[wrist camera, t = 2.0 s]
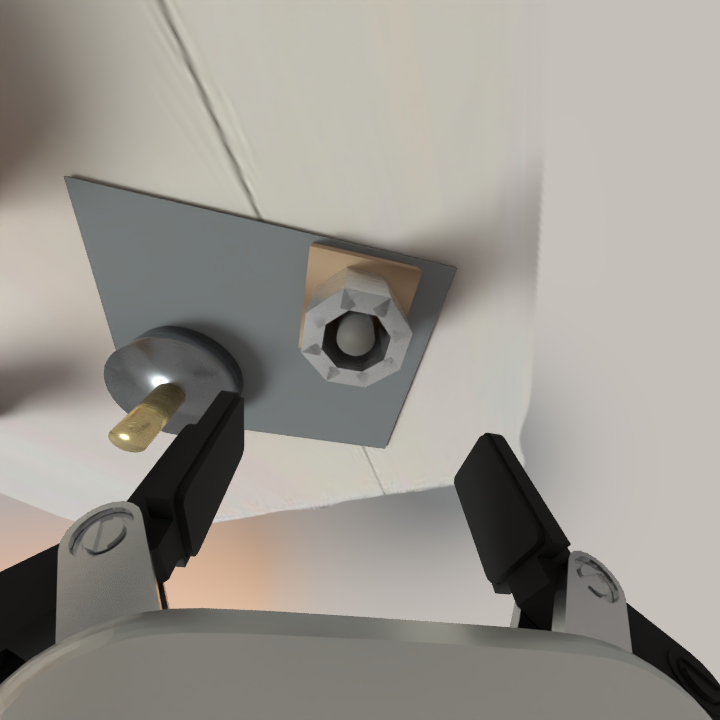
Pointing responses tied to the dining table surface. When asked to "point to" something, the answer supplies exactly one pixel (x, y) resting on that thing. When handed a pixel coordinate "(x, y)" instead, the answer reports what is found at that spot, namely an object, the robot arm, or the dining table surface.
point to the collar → (361, 296)
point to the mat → (242, 305)
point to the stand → (353, 325)
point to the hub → (166, 383)
